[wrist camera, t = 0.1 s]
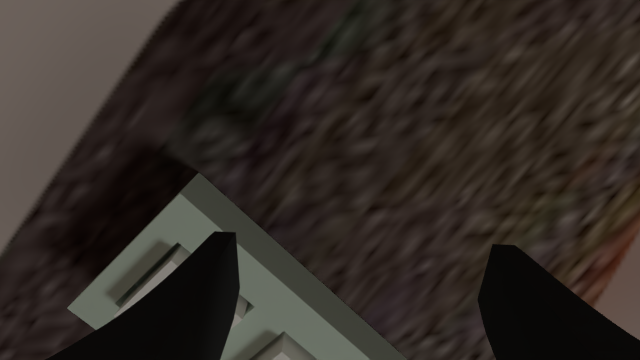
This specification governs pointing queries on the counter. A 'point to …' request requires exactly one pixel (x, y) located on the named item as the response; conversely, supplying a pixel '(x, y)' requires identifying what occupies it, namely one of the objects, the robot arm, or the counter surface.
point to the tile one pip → (283, 350)
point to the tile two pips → (162, 273)
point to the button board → (255, 283)
